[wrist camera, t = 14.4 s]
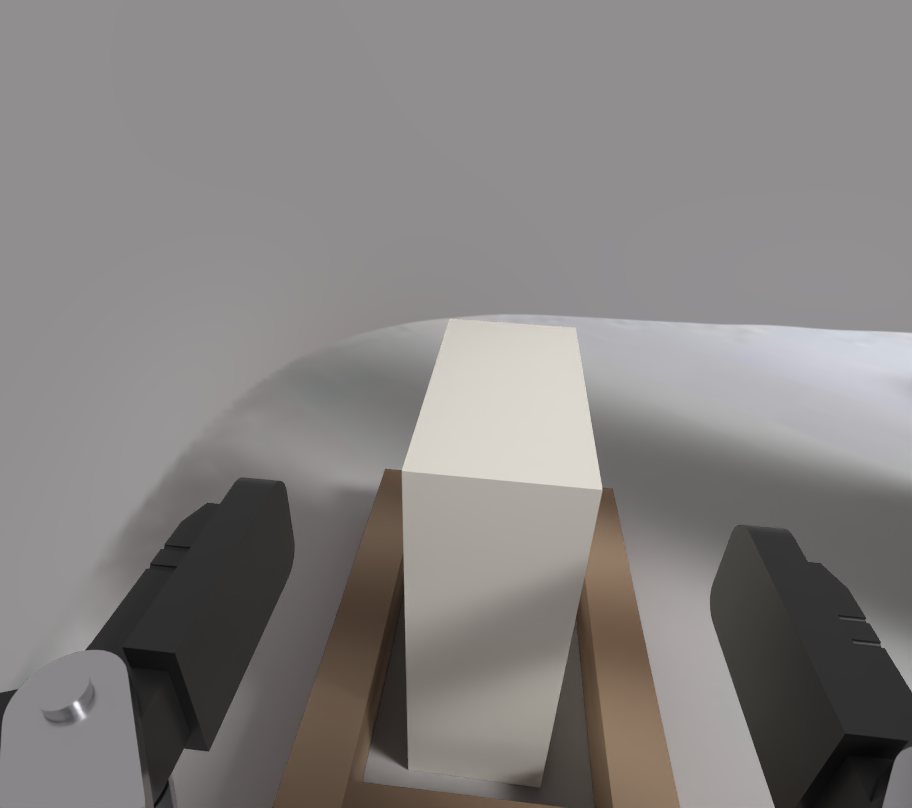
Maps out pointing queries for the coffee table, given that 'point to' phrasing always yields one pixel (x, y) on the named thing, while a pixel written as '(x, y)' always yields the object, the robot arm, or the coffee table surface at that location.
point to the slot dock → (367, 656)
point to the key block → (495, 547)
